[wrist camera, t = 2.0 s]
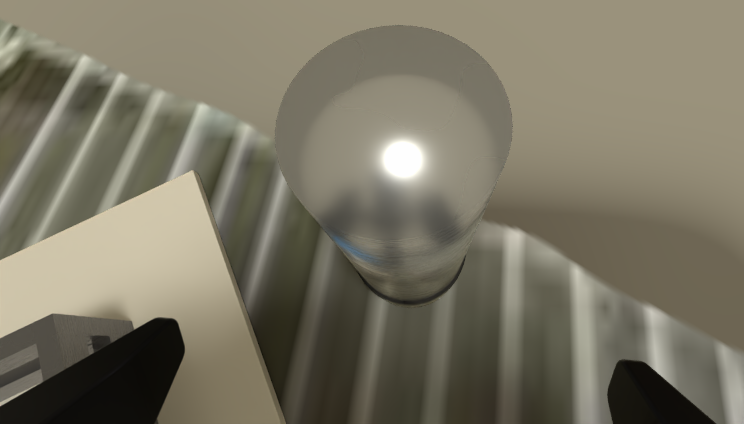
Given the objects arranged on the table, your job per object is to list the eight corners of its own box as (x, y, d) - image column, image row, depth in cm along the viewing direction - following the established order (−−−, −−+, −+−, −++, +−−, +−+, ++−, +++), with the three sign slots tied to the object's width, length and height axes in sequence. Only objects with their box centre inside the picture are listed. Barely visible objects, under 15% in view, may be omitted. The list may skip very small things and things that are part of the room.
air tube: (478, 283, 20) (569, 172, 7) (387, 327, 20) (325, 289, 7) (431, 197, 21) (443, -14, 9) (346, 238, 21) (237, 81, 9)
